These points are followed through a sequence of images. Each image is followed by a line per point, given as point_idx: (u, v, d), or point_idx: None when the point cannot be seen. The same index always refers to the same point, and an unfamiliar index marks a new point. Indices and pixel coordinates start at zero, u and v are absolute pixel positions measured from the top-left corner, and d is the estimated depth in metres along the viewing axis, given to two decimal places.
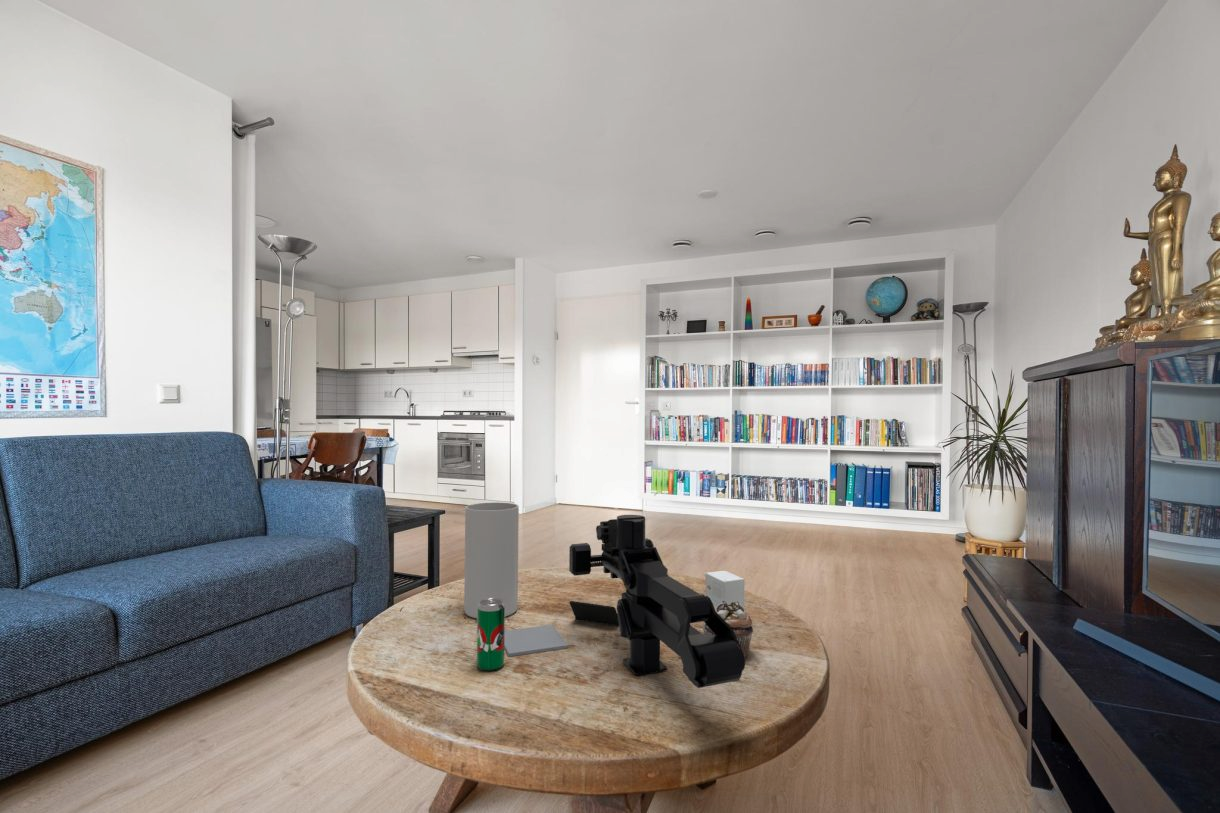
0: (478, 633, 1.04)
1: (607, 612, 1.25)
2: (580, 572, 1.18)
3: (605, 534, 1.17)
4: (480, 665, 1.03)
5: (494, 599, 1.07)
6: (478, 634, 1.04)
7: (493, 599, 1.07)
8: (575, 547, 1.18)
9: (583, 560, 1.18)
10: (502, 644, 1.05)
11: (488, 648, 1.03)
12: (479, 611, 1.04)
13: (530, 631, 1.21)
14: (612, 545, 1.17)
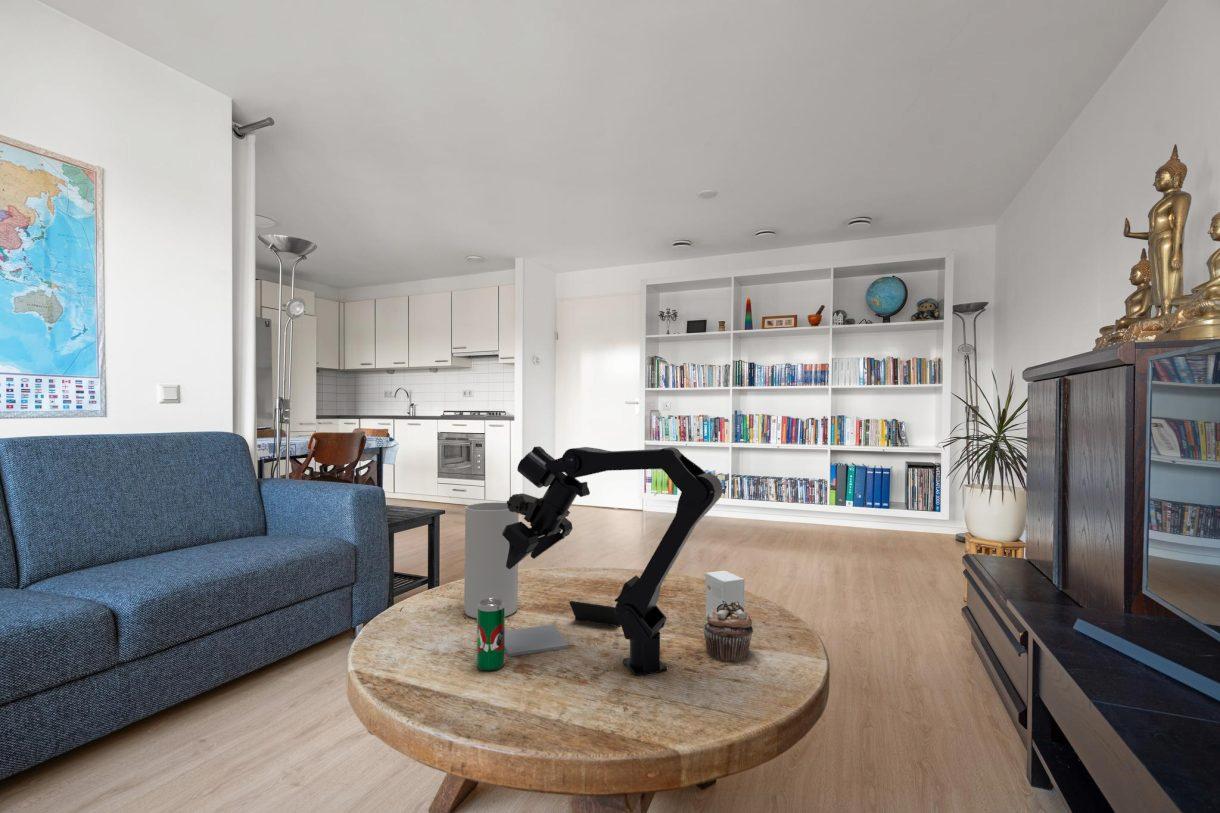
0: (478, 633, 1.04)
1: (607, 612, 1.25)
2: (531, 538, 1.07)
3: (520, 497, 1.14)
4: (480, 665, 1.03)
5: (494, 599, 1.07)
6: (478, 634, 1.04)
7: (493, 599, 1.07)
8: (508, 525, 1.08)
9: (524, 529, 1.09)
10: (502, 644, 1.05)
11: (488, 648, 1.03)
12: (479, 611, 1.04)
13: (530, 631, 1.21)
14: (533, 502, 1.14)
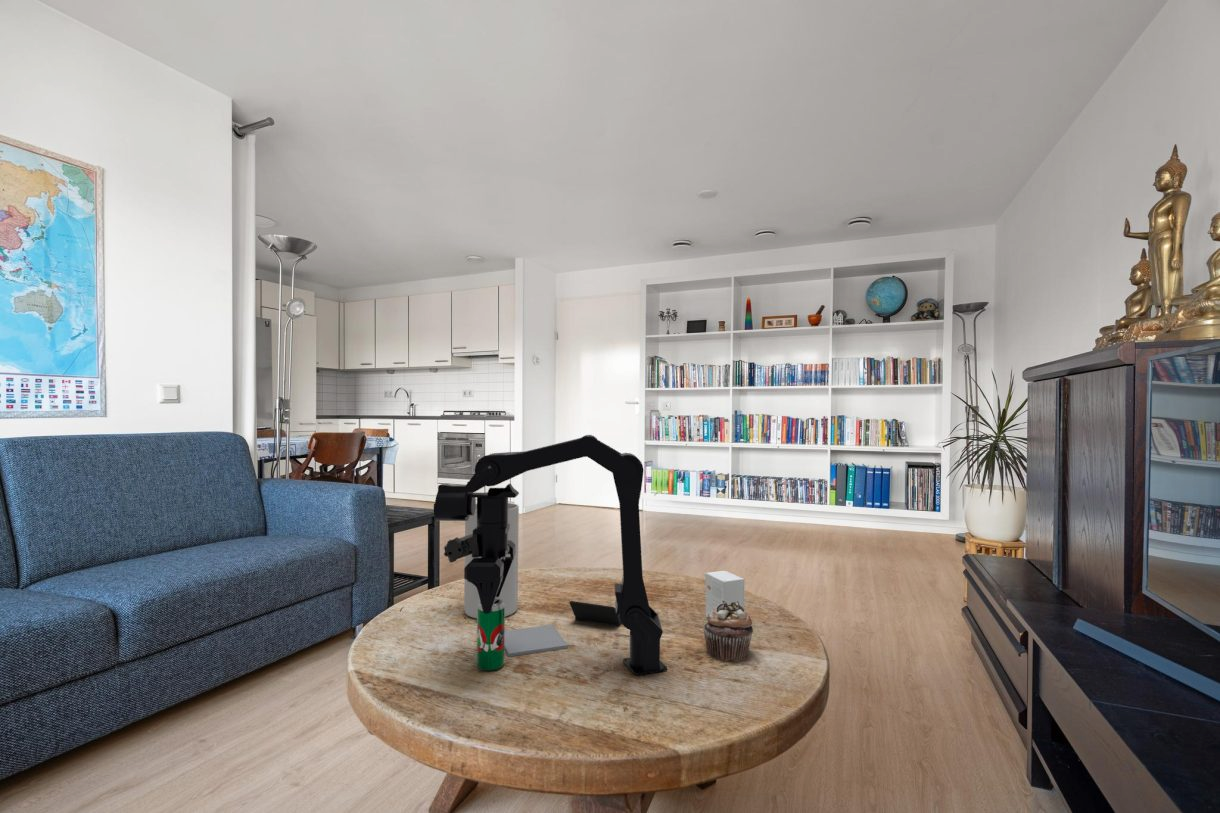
0: (478, 633, 1.04)
1: (607, 612, 1.25)
2: (497, 562, 0.98)
3: (456, 538, 1.02)
4: (480, 665, 1.03)
5: None
6: (478, 634, 1.04)
7: None
8: (466, 566, 0.97)
9: (483, 560, 0.99)
10: (502, 644, 1.05)
11: (488, 648, 1.03)
12: (479, 611, 1.04)
13: (530, 631, 1.21)
14: (471, 536, 1.04)
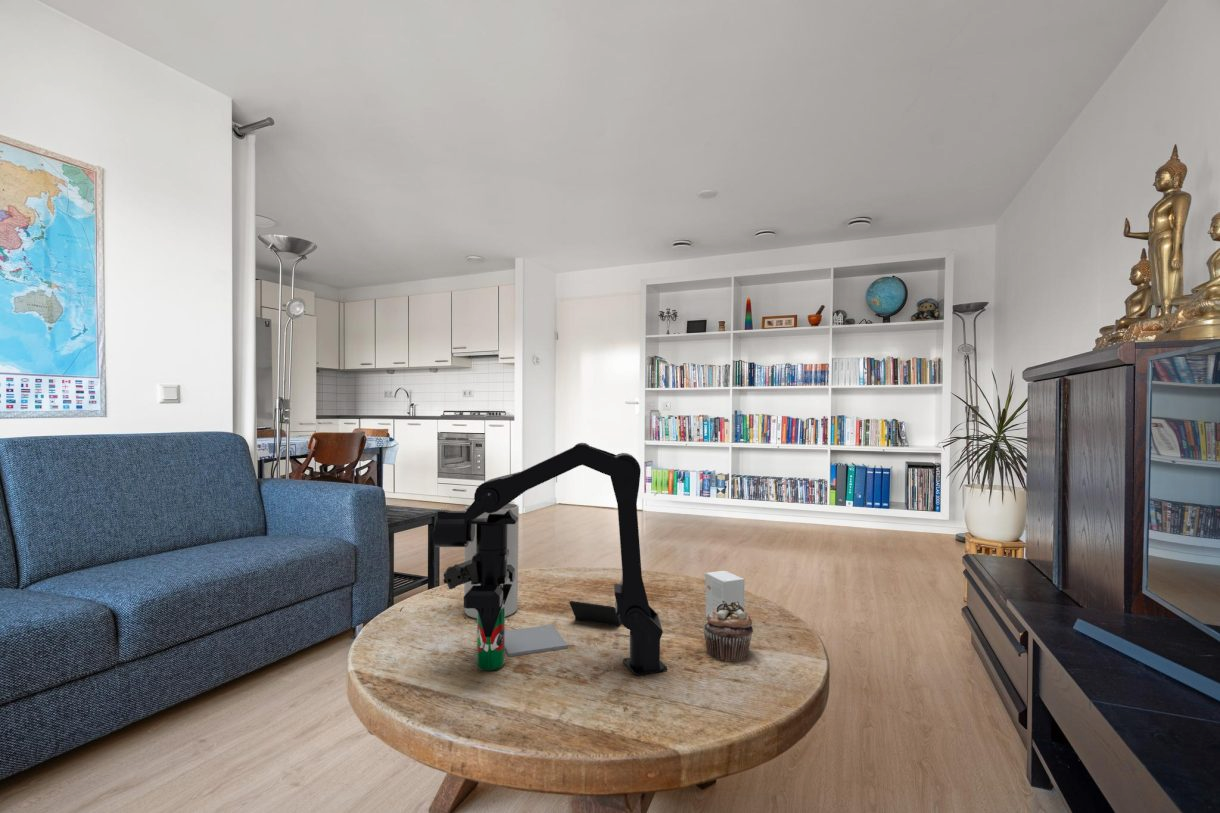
0: (478, 633, 1.04)
1: (607, 612, 1.25)
2: (496, 590, 0.98)
3: (455, 565, 1.02)
4: (480, 665, 1.03)
5: None
6: (478, 634, 1.04)
7: None
8: (465, 595, 0.97)
9: (482, 588, 0.99)
10: (502, 644, 1.05)
11: (488, 648, 1.03)
12: None
13: (530, 631, 1.21)
14: (470, 563, 1.04)
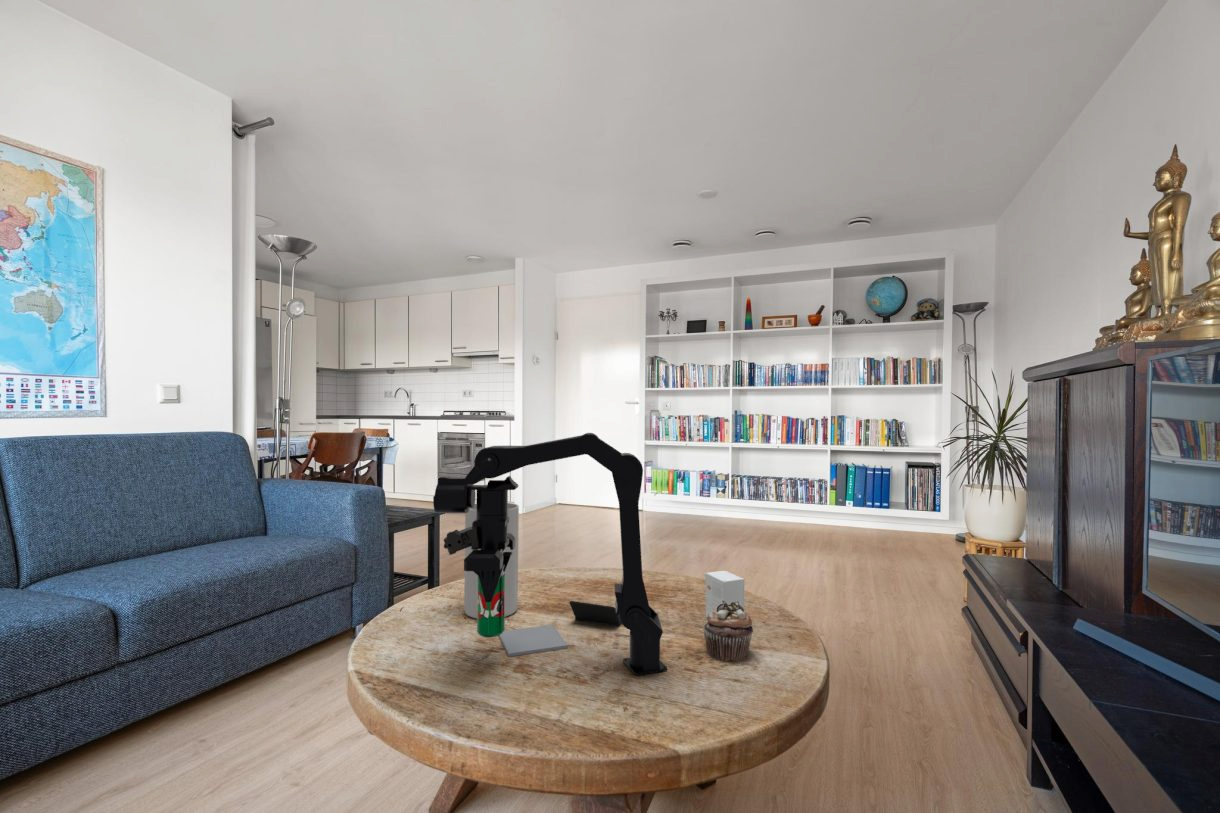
0: (478, 599, 1.04)
1: (607, 612, 1.25)
2: (496, 554, 0.98)
3: (455, 531, 1.02)
4: (480, 631, 1.03)
5: None
6: (478, 600, 1.04)
7: None
8: (465, 558, 0.97)
9: (483, 552, 0.99)
10: (502, 611, 1.05)
11: (489, 614, 1.03)
12: None
13: (530, 631, 1.21)
14: (471, 529, 1.04)
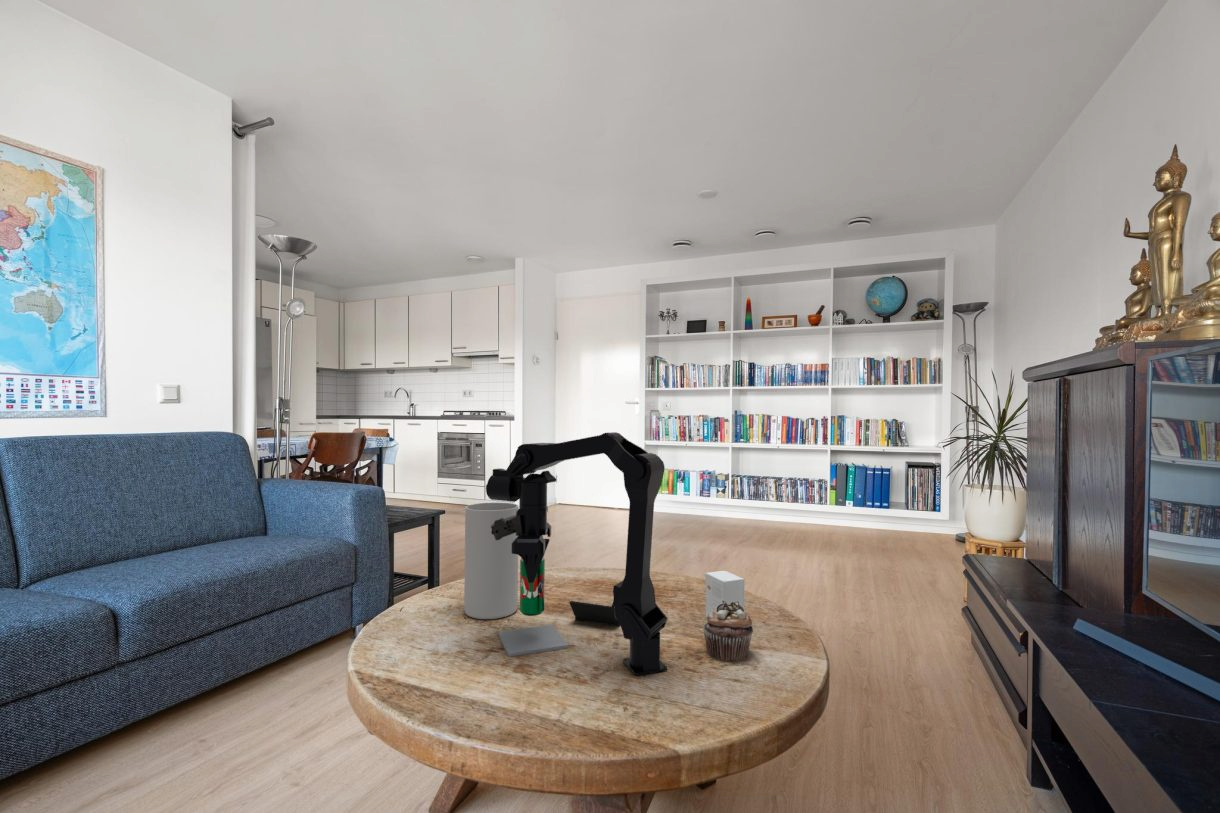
0: (521, 582, 1.16)
1: (607, 612, 1.25)
2: (540, 538, 1.10)
3: (502, 518, 1.14)
4: (524, 610, 1.15)
5: None
6: (521, 583, 1.16)
7: None
8: (513, 542, 1.09)
9: (527, 537, 1.11)
10: (543, 592, 1.17)
11: (531, 595, 1.15)
12: (522, 563, 1.16)
13: (530, 631, 1.21)
14: (515, 517, 1.16)
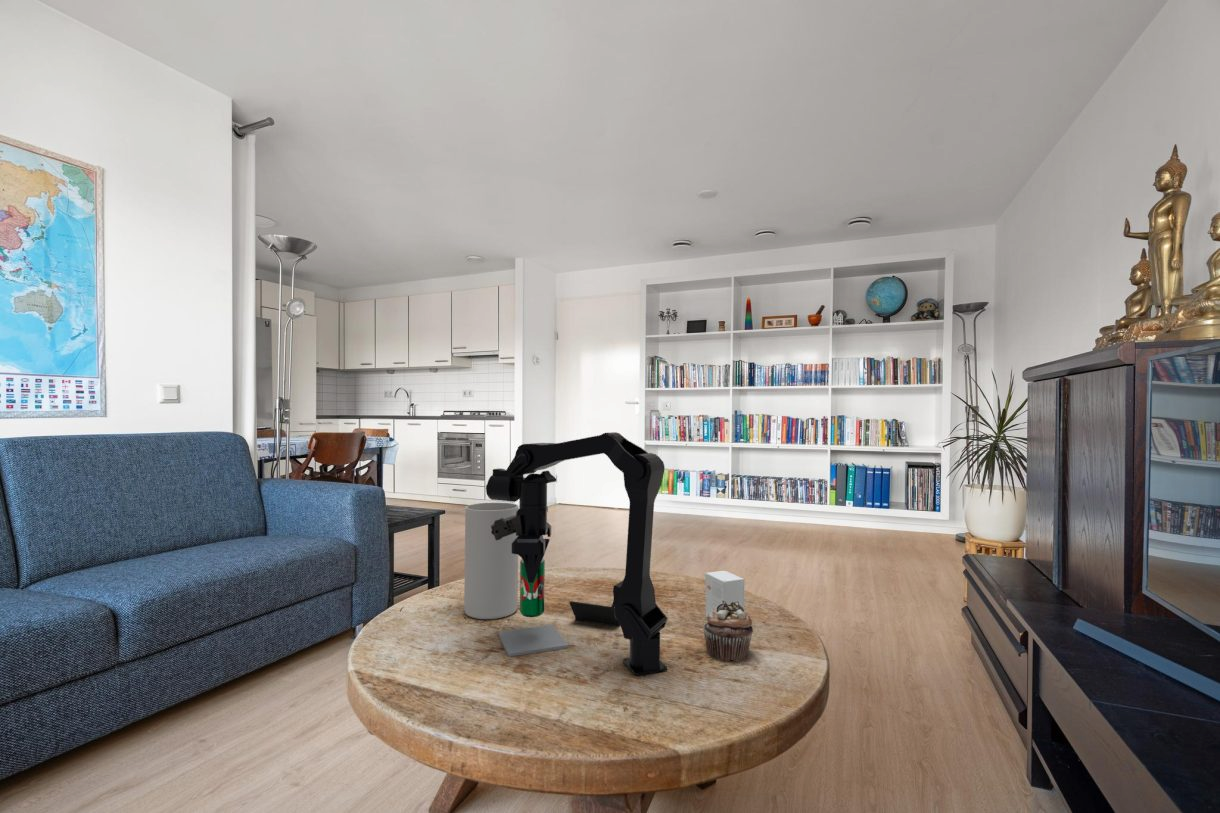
0: (521, 583, 1.16)
1: (607, 612, 1.25)
2: (540, 538, 1.10)
3: (502, 518, 1.14)
4: (524, 612, 1.15)
5: None
6: (521, 584, 1.16)
7: None
8: (513, 542, 1.09)
9: (527, 537, 1.11)
10: (543, 593, 1.17)
11: (531, 596, 1.15)
12: (522, 564, 1.16)
13: (530, 631, 1.21)
14: (515, 517, 1.16)
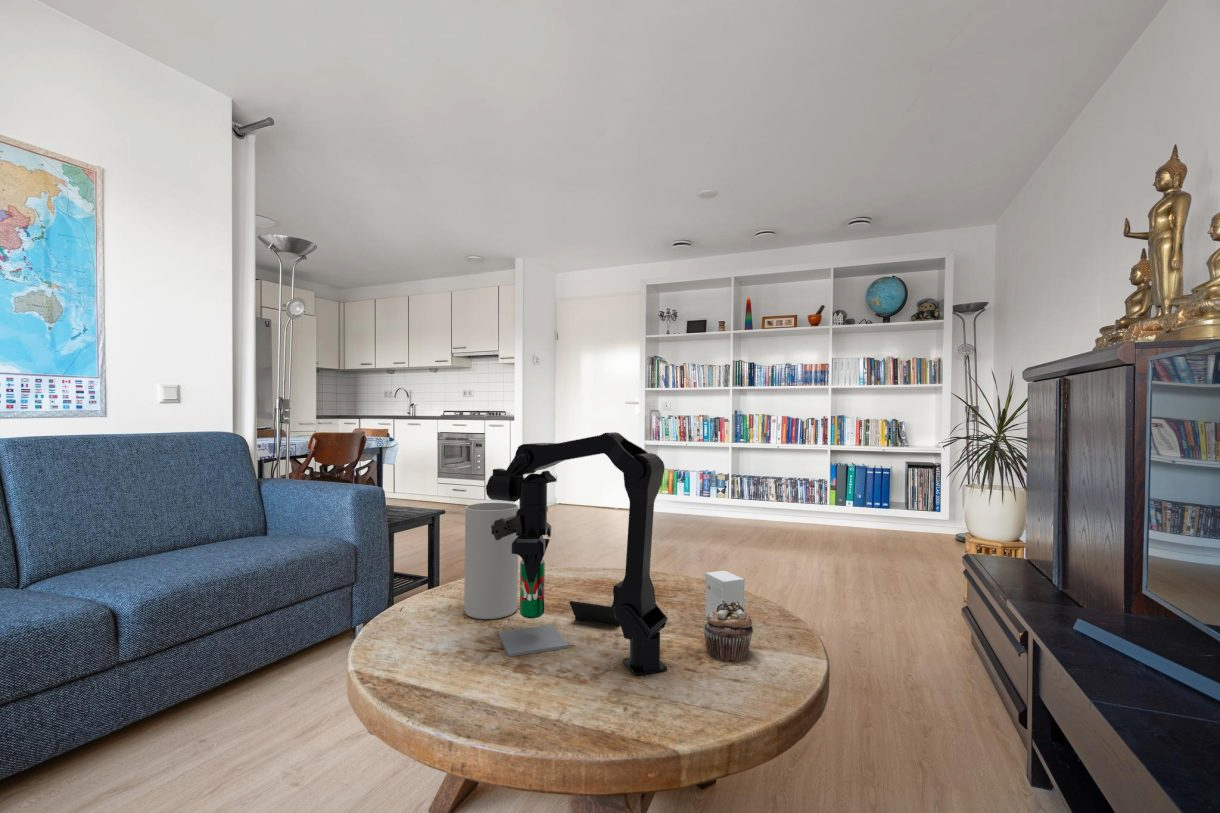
0: (521, 585, 1.16)
1: (607, 612, 1.25)
2: (540, 538, 1.10)
3: (502, 518, 1.14)
4: (524, 613, 1.15)
5: None
6: (521, 585, 1.16)
7: None
8: (513, 542, 1.09)
9: (528, 537, 1.11)
10: (543, 595, 1.17)
11: (531, 597, 1.15)
12: (522, 565, 1.16)
13: (530, 631, 1.21)
14: (515, 517, 1.16)
